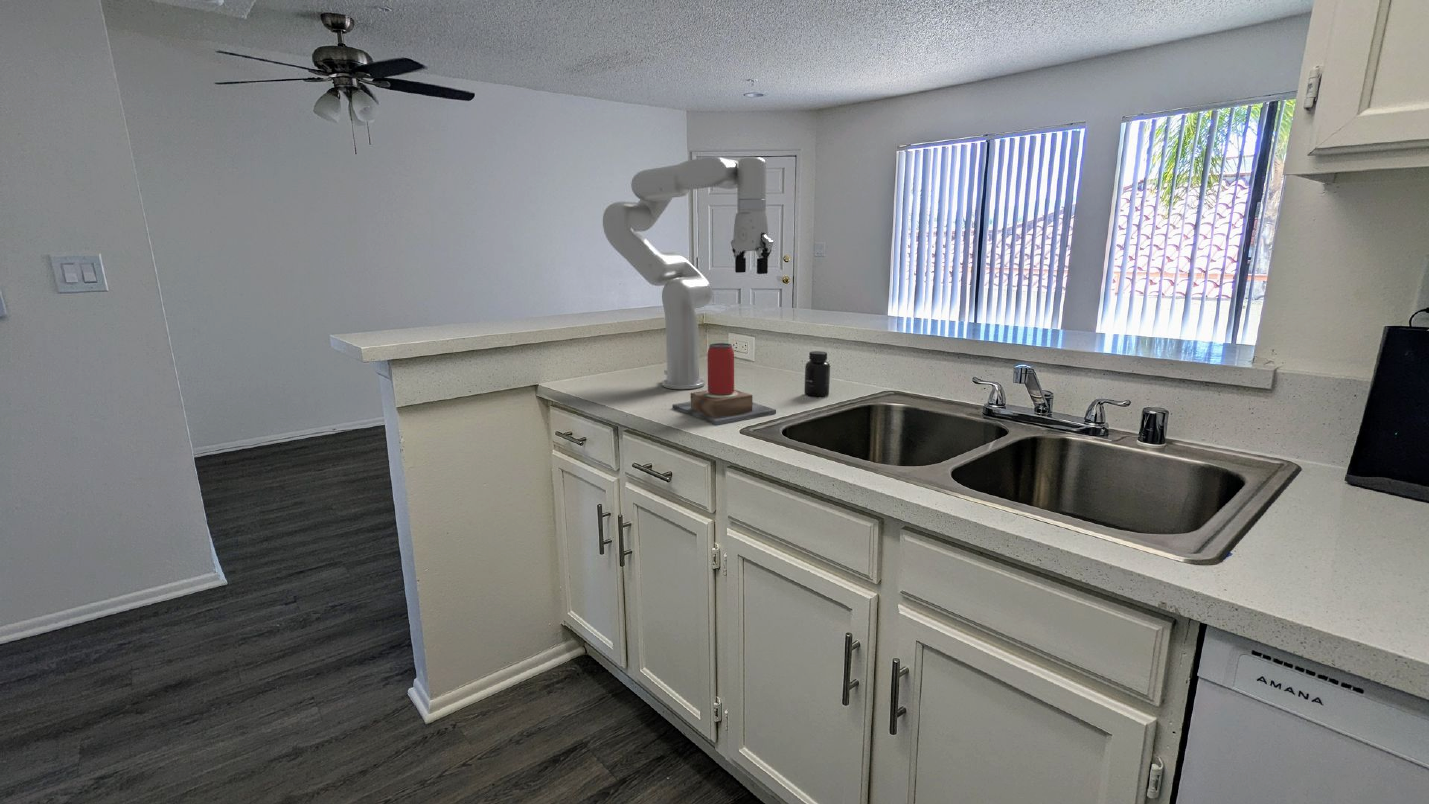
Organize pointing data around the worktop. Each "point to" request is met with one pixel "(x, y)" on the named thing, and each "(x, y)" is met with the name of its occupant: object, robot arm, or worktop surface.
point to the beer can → (720, 369)
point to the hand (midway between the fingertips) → (751, 273)
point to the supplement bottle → (817, 375)
